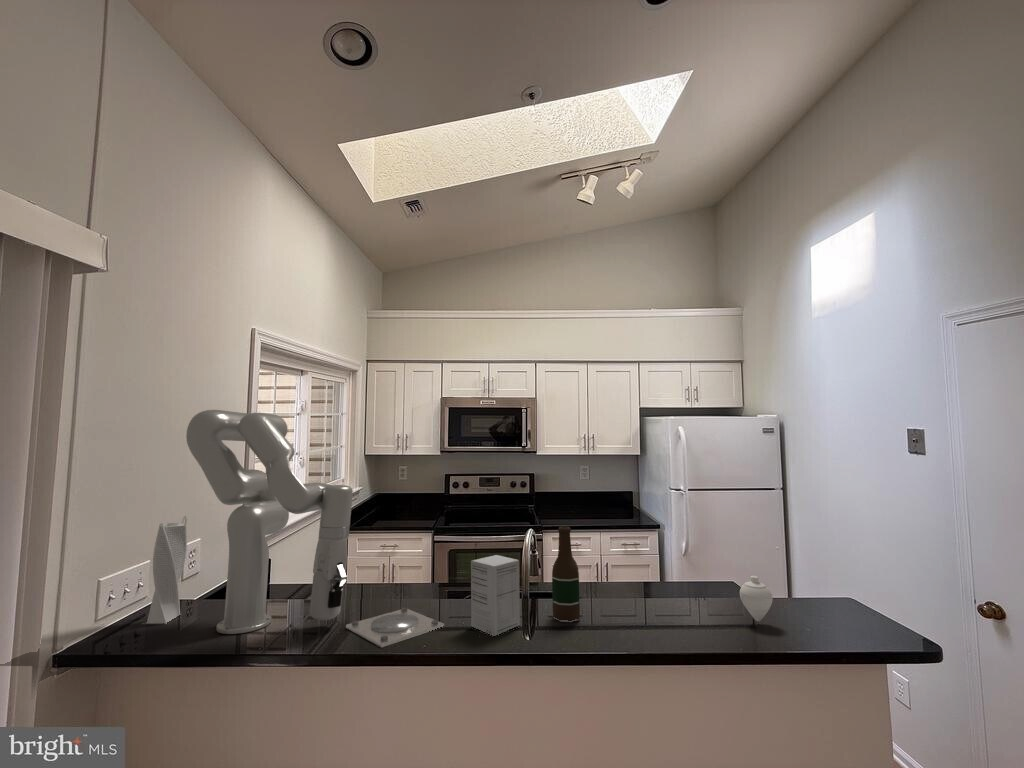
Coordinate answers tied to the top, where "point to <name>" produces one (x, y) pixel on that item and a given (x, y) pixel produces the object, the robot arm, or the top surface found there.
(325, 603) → the can
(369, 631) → the flange
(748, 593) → the spinning top
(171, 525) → the skyscraper
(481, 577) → the supplement box
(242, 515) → the robot arm
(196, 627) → the top surface
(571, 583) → the beer bottle
